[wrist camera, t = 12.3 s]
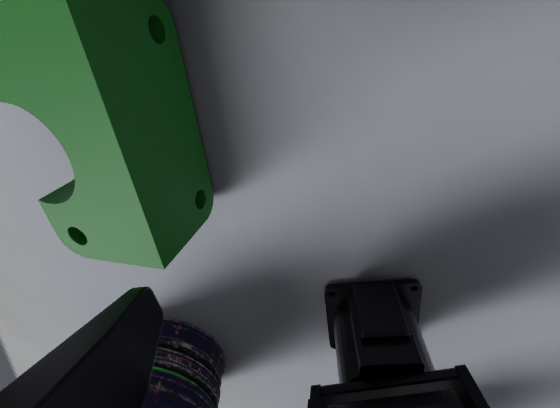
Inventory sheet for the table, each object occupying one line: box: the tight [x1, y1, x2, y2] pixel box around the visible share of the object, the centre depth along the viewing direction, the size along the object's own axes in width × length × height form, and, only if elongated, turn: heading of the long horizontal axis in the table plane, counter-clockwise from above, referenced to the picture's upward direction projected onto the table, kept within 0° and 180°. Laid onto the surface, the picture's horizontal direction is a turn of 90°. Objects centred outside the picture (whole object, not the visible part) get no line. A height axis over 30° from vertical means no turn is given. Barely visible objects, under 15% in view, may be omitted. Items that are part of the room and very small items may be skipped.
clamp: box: [0, 0, 213, 269], centre depth 16 cm, size 12×6×9 cm, turn 1°
